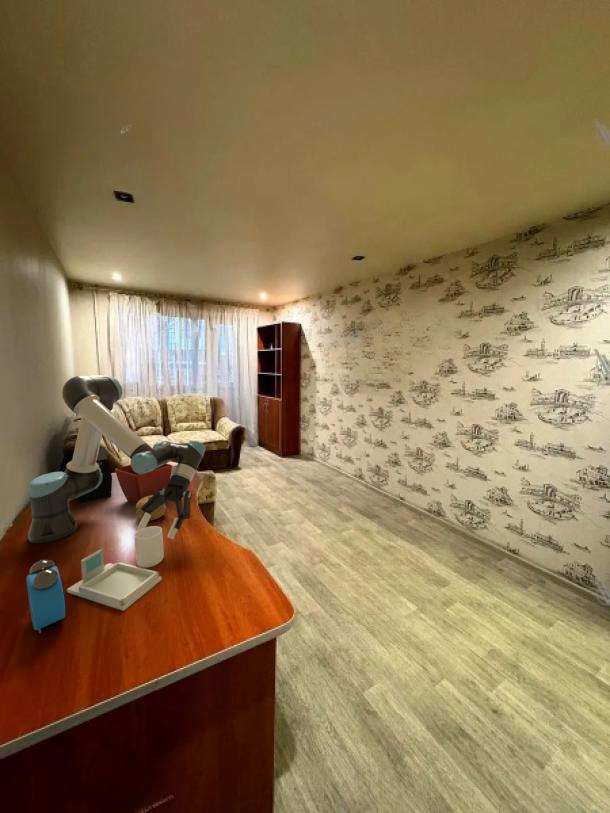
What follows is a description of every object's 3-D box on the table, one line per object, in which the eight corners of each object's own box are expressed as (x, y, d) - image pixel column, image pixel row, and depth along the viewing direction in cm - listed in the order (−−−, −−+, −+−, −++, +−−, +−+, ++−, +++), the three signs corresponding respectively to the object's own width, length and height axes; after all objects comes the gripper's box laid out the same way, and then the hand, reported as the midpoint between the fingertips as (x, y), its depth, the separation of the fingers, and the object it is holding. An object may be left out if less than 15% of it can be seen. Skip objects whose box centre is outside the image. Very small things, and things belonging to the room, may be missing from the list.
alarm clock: (30, 614, 83) (23, 560, 82) (59, 601, 88) (54, 550, 86) (36, 643, 74) (29, 584, 73) (68, 627, 79) (62, 571, 77)
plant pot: (175, 496, 161) (173, 464, 159) (138, 510, 145) (135, 475, 143) (153, 489, 172) (151, 459, 170) (116, 502, 156) (113, 468, 154)
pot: (133, 517, 139) (132, 495, 137) (161, 509, 146) (160, 488, 145) (140, 527, 130) (139, 503, 129) (170, 518, 137) (168, 496, 136)
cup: (142, 571, 101) (140, 541, 100) (128, 557, 109) (126, 529, 108) (168, 559, 107) (166, 531, 106) (153, 547, 115) (151, 520, 114)
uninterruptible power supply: (109, 479, 190) (106, 446, 187) (114, 497, 162) (110, 459, 160) (76, 485, 180) (72, 451, 178) (74, 505, 153) (70, 465, 150)
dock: (67, 592, 92) (64, 566, 91) (109, 565, 104) (107, 542, 103) (123, 610, 84) (121, 582, 83) (161, 579, 96) (159, 555, 95)
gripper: (213, 485, 119) (189, 544, 107) (161, 479, 128) (133, 533, 115) (204, 476, 114) (177, 537, 102) (150, 471, 122) (119, 526, 110)
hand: (154, 535), depth 108 cm, fingers open, 13 cm apart
